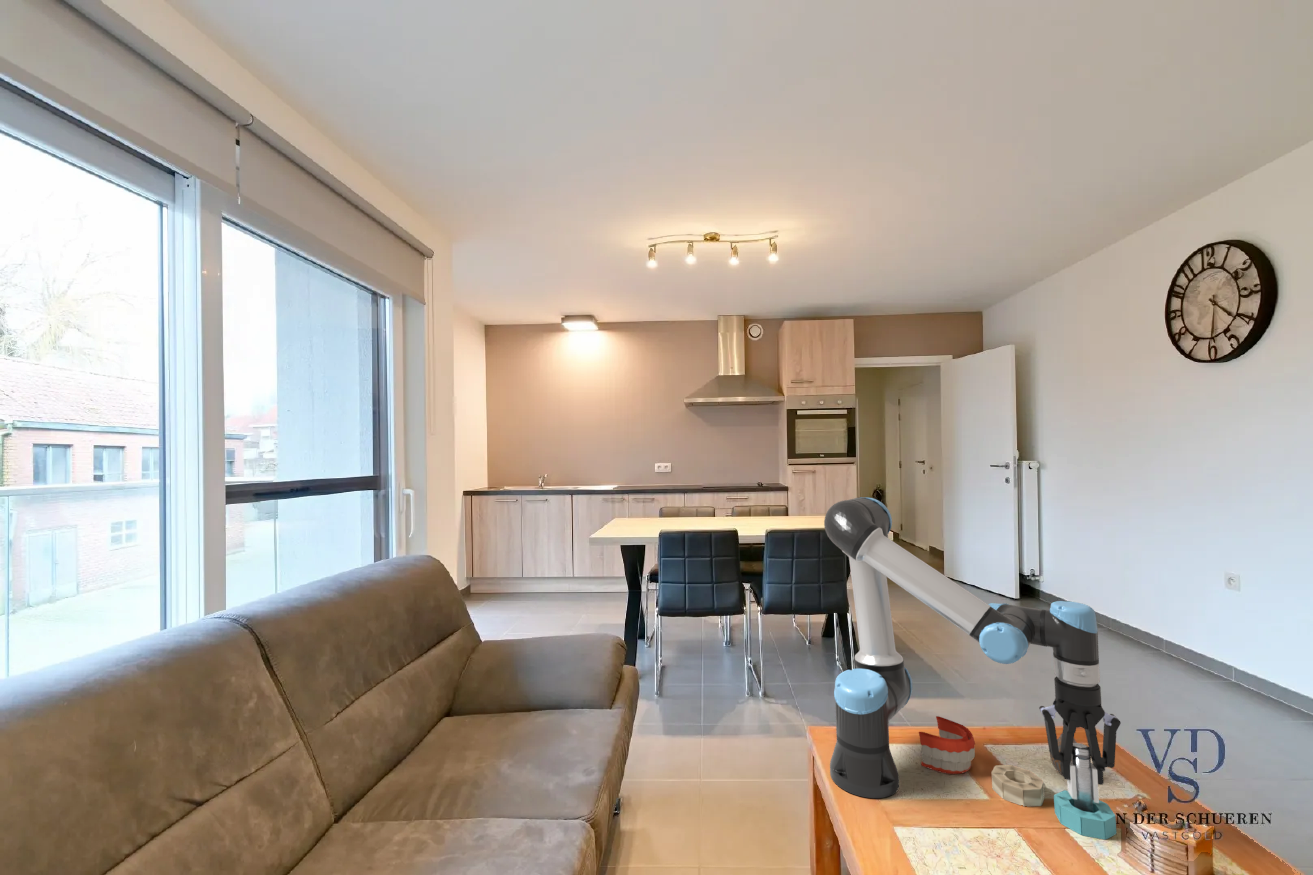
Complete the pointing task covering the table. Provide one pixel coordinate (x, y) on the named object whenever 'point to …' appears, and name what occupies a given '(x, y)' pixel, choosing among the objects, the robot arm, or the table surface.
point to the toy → (948, 748)
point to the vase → (1056, 762)
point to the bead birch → (1018, 785)
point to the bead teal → (1085, 817)
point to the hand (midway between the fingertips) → (1083, 796)
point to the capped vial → (1083, 777)
